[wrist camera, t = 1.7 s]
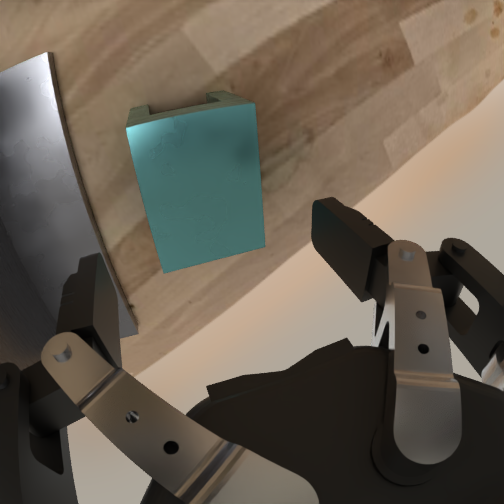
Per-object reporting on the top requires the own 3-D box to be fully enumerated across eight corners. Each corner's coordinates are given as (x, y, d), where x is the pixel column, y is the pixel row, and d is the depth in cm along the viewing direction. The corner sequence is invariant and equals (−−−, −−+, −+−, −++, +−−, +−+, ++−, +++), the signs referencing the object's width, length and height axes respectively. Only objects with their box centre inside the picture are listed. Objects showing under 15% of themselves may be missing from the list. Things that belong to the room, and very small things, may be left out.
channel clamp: (130, 108, 17) (125, 128, 12) (223, 90, 18) (254, 102, 13) (155, 221, 22) (163, 273, 17) (235, 201, 23) (265, 246, 18)
